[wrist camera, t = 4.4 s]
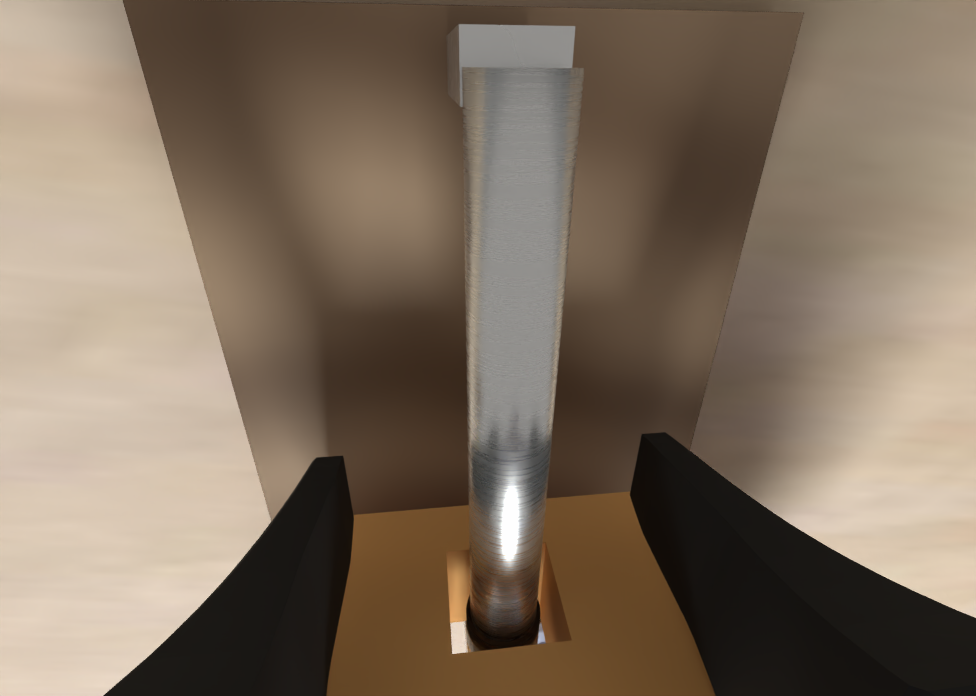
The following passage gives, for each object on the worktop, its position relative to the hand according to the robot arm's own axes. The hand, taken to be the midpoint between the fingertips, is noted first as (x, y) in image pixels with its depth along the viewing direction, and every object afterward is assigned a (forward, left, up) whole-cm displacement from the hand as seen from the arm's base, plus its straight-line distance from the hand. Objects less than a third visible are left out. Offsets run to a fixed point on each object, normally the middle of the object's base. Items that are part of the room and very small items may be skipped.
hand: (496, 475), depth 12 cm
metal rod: (+1, 0, -3) cm, 3 cm away
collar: (-4, 0, -1) cm, 4 cm away
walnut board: (+1, 0, -3) cm, 3 cm away
